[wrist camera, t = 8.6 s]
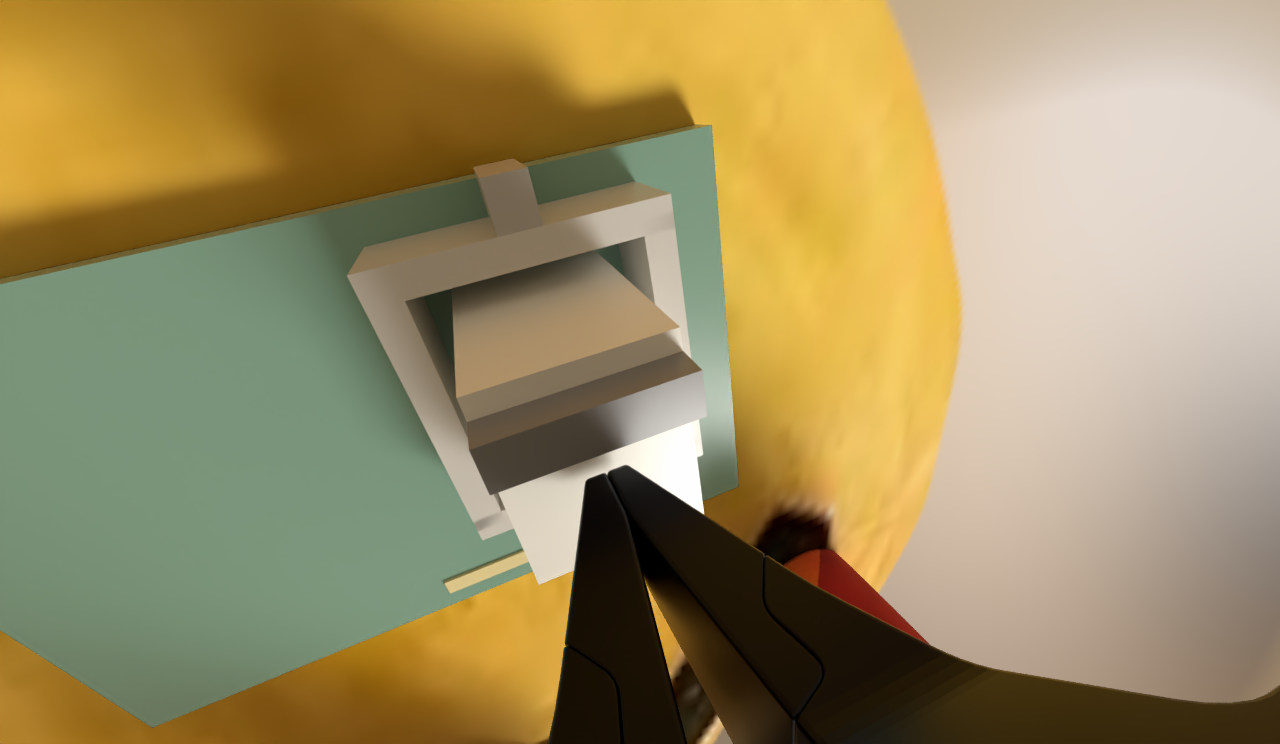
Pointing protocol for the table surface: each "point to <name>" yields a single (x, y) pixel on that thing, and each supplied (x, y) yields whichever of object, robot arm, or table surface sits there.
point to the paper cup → (846, 585)
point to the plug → (571, 395)
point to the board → (303, 417)
